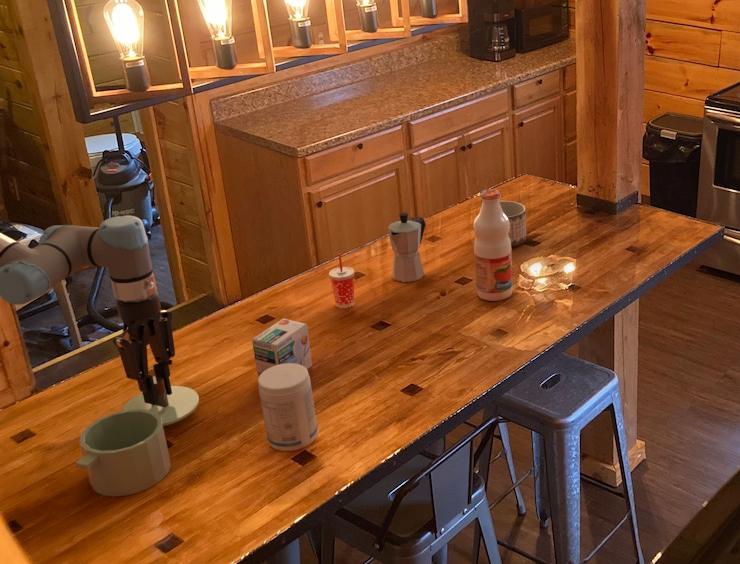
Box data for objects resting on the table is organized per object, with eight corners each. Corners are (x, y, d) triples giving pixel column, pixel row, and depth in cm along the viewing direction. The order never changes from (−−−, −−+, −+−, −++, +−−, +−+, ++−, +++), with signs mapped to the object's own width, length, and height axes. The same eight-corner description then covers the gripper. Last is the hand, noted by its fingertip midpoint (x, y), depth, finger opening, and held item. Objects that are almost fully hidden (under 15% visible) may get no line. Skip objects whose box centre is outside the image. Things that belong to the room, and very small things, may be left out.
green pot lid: (105, 422, 189) (97, 392, 187) (158, 385, 202) (152, 356, 199) (164, 437, 185) (158, 405, 182) (215, 397, 198) (209, 368, 195)
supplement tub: (297, 419, 193) (288, 356, 187) (328, 435, 188) (320, 371, 182) (257, 442, 186) (246, 378, 180) (288, 459, 181) (278, 394, 175)
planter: (531, 235, 280) (531, 203, 276) (518, 253, 269) (517, 219, 264) (491, 231, 283) (489, 199, 278) (476, 248, 271) (474, 214, 267)
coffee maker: (408, 288, 248) (402, 224, 241) (380, 281, 251) (374, 219, 244) (440, 266, 260) (436, 205, 253) (413, 260, 264) (409, 200, 256)
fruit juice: (484, 283, 251) (479, 184, 240) (518, 288, 249) (514, 187, 237) (470, 299, 243) (465, 196, 231) (505, 304, 240) (501, 200, 229)
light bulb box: (282, 389, 204) (275, 345, 199) (257, 382, 206) (250, 339, 201) (313, 365, 213) (308, 322, 208) (289, 359, 215) (283, 317, 211)
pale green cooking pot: (61, 496, 171) (49, 452, 167) (139, 437, 187) (130, 396, 184) (122, 512, 167) (111, 468, 163) (196, 451, 183) (188, 409, 180)
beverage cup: (327, 304, 239) (321, 254, 234) (348, 296, 244) (342, 246, 238) (342, 312, 236) (336, 261, 230) (362, 303, 240) (357, 253, 234)
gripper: (120, 316, 175) (143, 423, 184) (182, 280, 189) (201, 380, 198) (87, 310, 177) (113, 416, 187) (151, 274, 191) (172, 374, 201)
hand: (158, 397), depth 192 cm, fingers closed on green pot lid, 3 cm apart
